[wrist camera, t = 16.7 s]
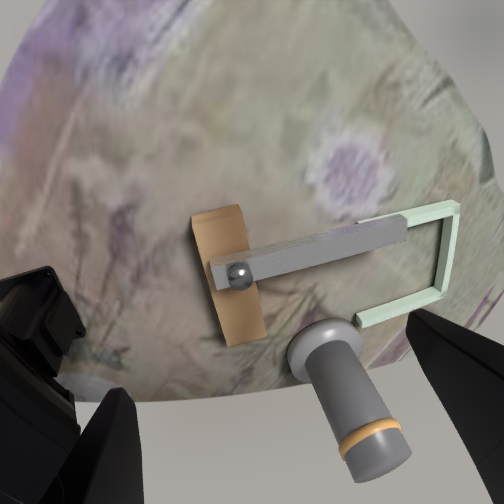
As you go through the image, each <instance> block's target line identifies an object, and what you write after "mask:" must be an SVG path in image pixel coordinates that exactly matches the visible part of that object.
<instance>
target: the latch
mask: <svg viewBox="0 0 504 504" xmlns="http://www.w3.org/2000/svg"><path fill="white" fill-rule="evenodd" d="M407 225H408V219H407V218H405V217H404V216H402V215H401V214H396V215H392V216H387V217H383V218H379V219H375V220H371V221H367V222H362V223H358V224H354V225H350V226H346V227H342V228H337V229H333V230H329V231H325V232H321V233H317V234H312V235H308V236H304V237H300V238H296V239H292V240H287V241H283V242H279V243H275V244H271V245H267V246H263V247H258V248H254V249H250V250H246V251H242V252H238V253H234V254H230V255H225V256H221V257H217V258H213V259H209V260H210V266H211V271H212V274H213V278H214V281H215V285H216V289H217V290H220V289H224V288H228V287H231V288H232V289H234V290H237V291H243V290H246V289H248V288H249V287H250V286H251V285H252V283H253V281H257V280H261V279H264V278H268V277H272V276H276V275H280V274H284V273H288V272H292V271H296V270H300V269H304V268H307V267H311V266H315V265H319V264H323V263H326V262H330V261H334V260H338V259H341V258H345V257H349V256H352V255H356V254H360V253H363V252H367V251H371V250H374V249H378V248H381V247H385V246H389V245H392V244H396V243H399V242H403V241H406V240H407Z"/></svg>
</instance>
